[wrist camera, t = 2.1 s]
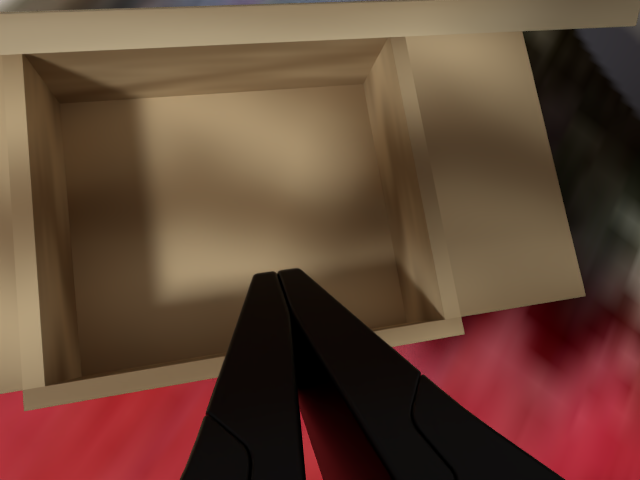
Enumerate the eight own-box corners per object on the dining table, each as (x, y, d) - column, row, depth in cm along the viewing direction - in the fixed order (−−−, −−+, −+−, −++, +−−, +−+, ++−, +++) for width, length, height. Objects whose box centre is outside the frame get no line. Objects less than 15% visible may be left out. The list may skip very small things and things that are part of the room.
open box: (520, 316, 23) (589, 312, 19) (-79, 419, 18) (-177, 446, 14) (467, 71, 25) (518, 15, 20) (-90, 106, 20) (-178, 41, 16)
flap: (636, 25, 9) (642, -7, 9) (-282, 67, 6) (-304, 23, 6) (394, 15, 19) (394, 0, 19) (10, 29, 16) (5, 12, 16)
